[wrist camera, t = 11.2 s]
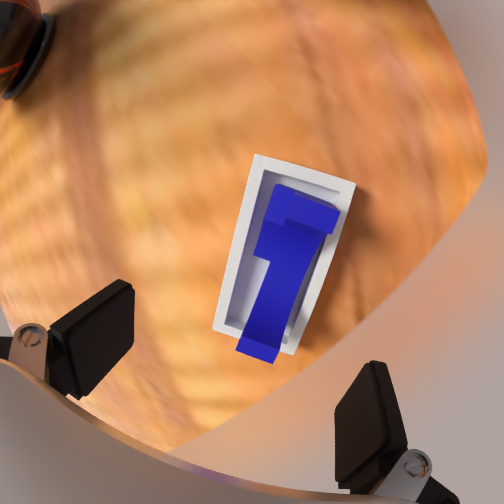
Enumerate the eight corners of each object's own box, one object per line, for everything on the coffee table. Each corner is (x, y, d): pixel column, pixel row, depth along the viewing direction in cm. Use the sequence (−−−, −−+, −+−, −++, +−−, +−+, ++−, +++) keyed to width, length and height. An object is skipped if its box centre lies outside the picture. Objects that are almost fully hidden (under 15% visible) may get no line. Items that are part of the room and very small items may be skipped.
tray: (259, 155, 22) (254, 153, 20) (351, 183, 21) (356, 183, 19) (218, 319, 27) (211, 329, 25) (294, 343, 26) (293, 355, 24)
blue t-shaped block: (279, 183, 22) (269, 185, 16) (331, 203, 21) (340, 211, 15) (235, 307, 25) (216, 342, 20) (280, 324, 25) (272, 364, 19)
